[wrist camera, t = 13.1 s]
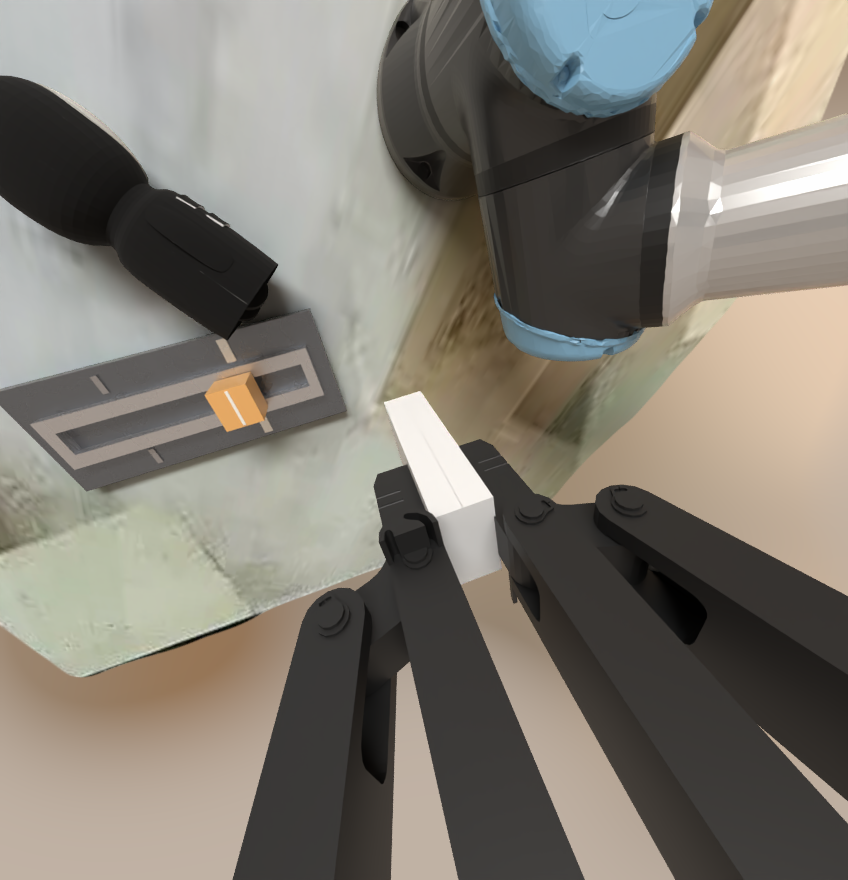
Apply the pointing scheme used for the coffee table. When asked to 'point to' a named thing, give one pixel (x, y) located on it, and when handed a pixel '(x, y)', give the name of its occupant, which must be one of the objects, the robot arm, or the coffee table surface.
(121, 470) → the fader panel
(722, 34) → the coffee table surface
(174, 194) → the black hourglass-shaped sleeve
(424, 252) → the coffee table surface
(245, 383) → the fader knob
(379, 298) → the coffee table surface
